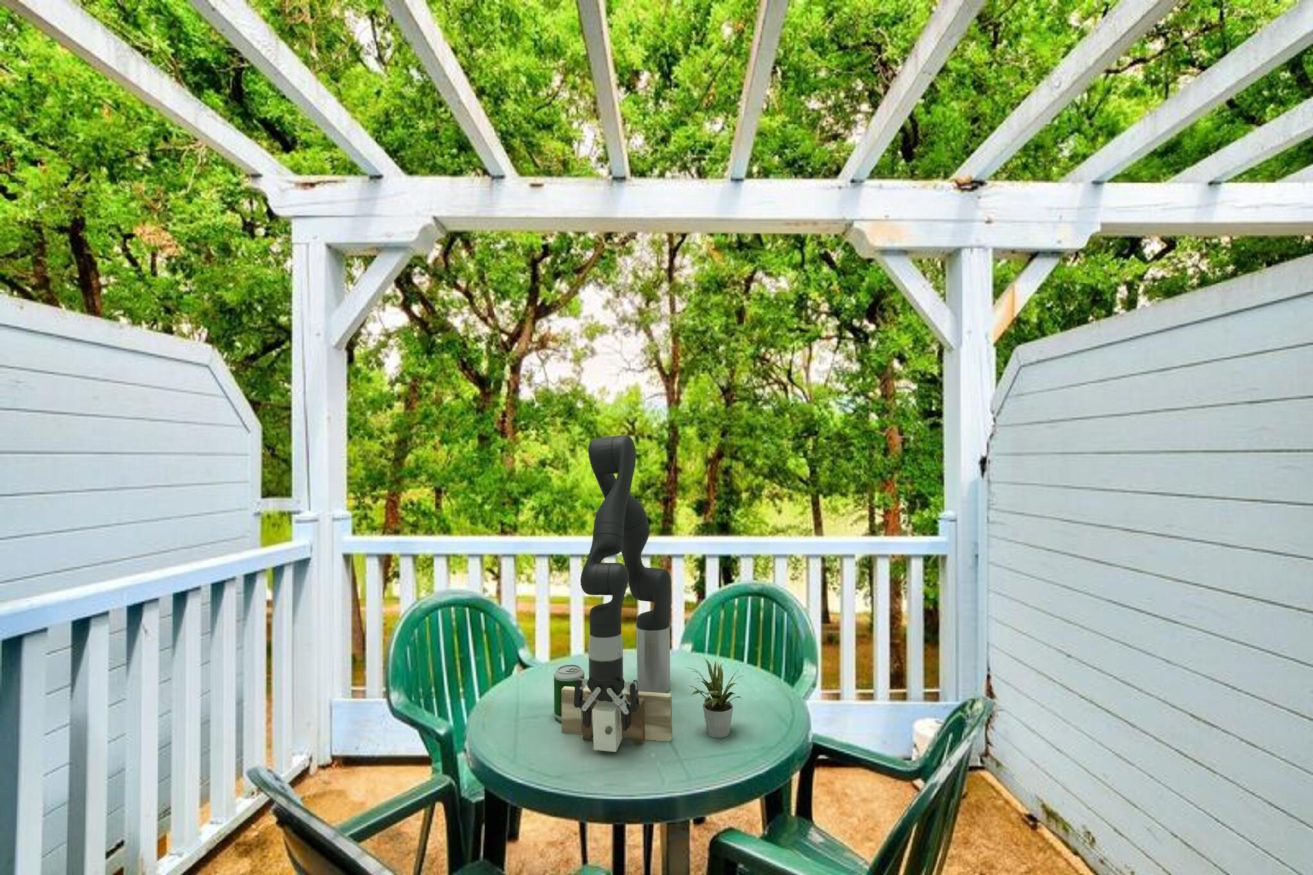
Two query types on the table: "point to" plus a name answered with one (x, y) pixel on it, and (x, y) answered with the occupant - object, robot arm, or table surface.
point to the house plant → (717, 703)
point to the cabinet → (606, 726)
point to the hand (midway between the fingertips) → (606, 727)
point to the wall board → (645, 722)
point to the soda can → (564, 684)
